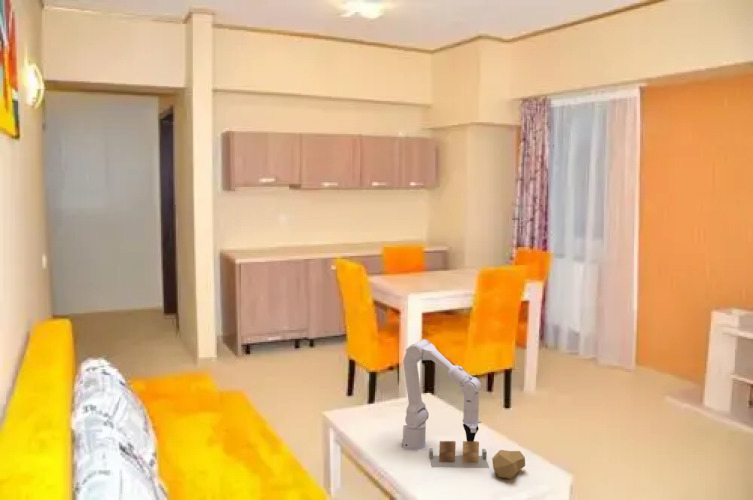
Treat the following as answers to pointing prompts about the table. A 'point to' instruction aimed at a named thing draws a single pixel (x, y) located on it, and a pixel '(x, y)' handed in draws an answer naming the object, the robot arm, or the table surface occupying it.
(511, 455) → the low-poly potato
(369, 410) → the table surface
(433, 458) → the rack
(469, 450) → the oak tile
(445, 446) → the walnut tile
